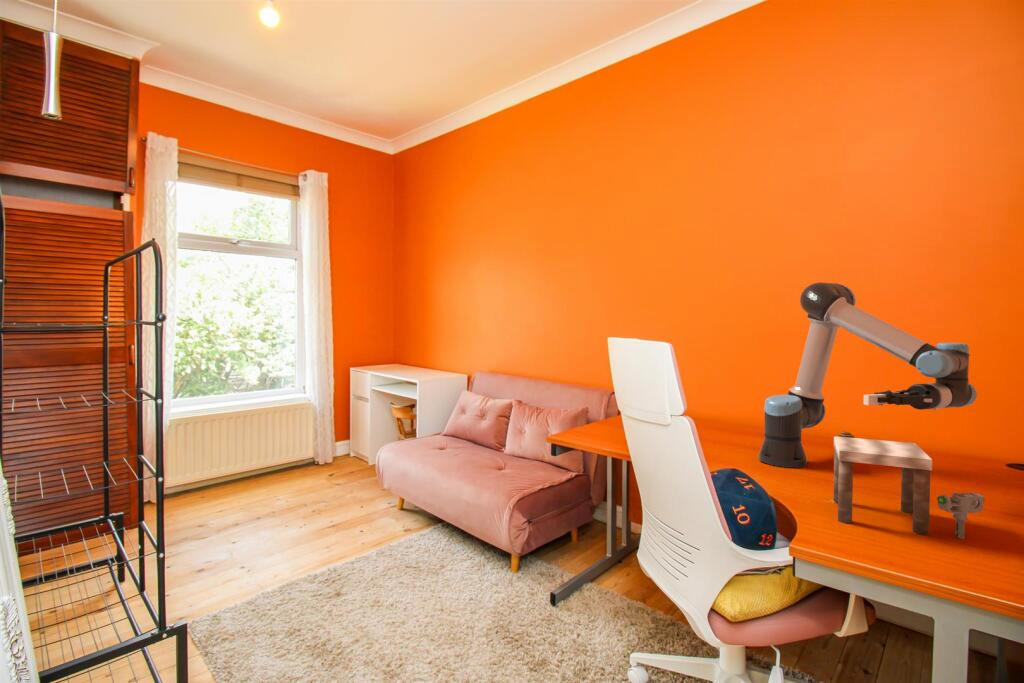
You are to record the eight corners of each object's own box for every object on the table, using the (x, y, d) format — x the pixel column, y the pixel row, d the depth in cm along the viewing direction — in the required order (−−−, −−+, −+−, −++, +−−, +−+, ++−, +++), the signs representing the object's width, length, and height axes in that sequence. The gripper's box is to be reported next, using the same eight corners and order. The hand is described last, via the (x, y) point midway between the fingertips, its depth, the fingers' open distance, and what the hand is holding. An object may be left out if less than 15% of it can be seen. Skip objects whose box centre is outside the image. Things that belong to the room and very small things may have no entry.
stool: (838, 522, 125) (839, 450, 125) (832, 499, 141) (833, 436, 140) (930, 536, 116) (932, 459, 116) (913, 511, 132) (915, 443, 132)
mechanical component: (933, 535, 117) (934, 493, 116) (973, 534, 118) (974, 491, 117) (945, 541, 114) (946, 497, 113) (986, 539, 115) (987, 496, 114)
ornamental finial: (836, 449, 197) (859, 452, 192) (832, 452, 192) (855, 456, 187) (836, 429, 197) (859, 431, 192) (832, 432, 192) (855, 435, 186)
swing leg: (877, 504, 136) (878, 451, 135) (879, 508, 133) (880, 453, 133) (832, 498, 141) (833, 447, 140) (833, 501, 138) (834, 449, 138)
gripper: (951, 412, 142) (888, 417, 136) (904, 405, 155) (844, 409, 148) (952, 386, 142) (889, 389, 136) (905, 381, 154) (845, 384, 148)
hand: (866, 399), depth 142 cm, fingers closed
